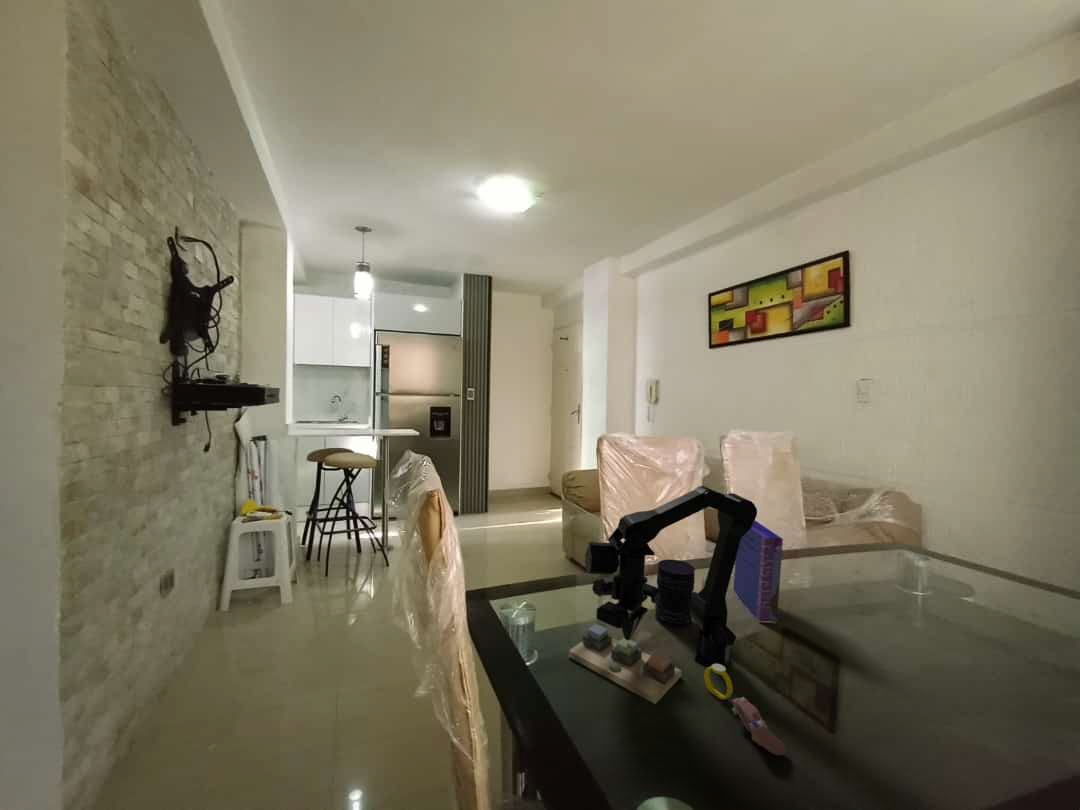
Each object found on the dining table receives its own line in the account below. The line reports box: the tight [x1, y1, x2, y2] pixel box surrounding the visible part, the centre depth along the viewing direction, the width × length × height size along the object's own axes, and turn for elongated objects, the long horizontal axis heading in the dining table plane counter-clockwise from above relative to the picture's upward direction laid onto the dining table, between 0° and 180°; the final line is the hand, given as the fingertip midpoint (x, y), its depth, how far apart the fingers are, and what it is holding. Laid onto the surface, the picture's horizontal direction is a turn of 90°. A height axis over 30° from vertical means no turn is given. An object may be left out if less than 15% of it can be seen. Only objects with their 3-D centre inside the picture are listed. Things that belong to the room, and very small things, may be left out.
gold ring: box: [703, 664, 733, 700], centre depth 95 cm, size 6×3×6 cm, turn 32°
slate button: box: [587, 623, 609, 642], centre depth 109 cm, size 3×3×2 cm
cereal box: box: [733, 520, 784, 623], centre depth 133 cm, size 17×5×24 cm, turn 179°
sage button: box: [616, 637, 638, 657], centre depth 103 cm, size 3×3×2 cm
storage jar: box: [654, 559, 696, 630], centre depth 124 cm, size 10×10×15 cm
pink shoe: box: [731, 696, 786, 757], centre depth 84 cm, size 10×5×7 cm, turn 5°
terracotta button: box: [648, 651, 671, 673], centre depth 98 cm, size 3×3×2 cm
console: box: [568, 631, 682, 705], centre depth 103 cm, size 22×12×4 cm, turn 49°
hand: (627, 639), depth 103 cm, fingers closed
